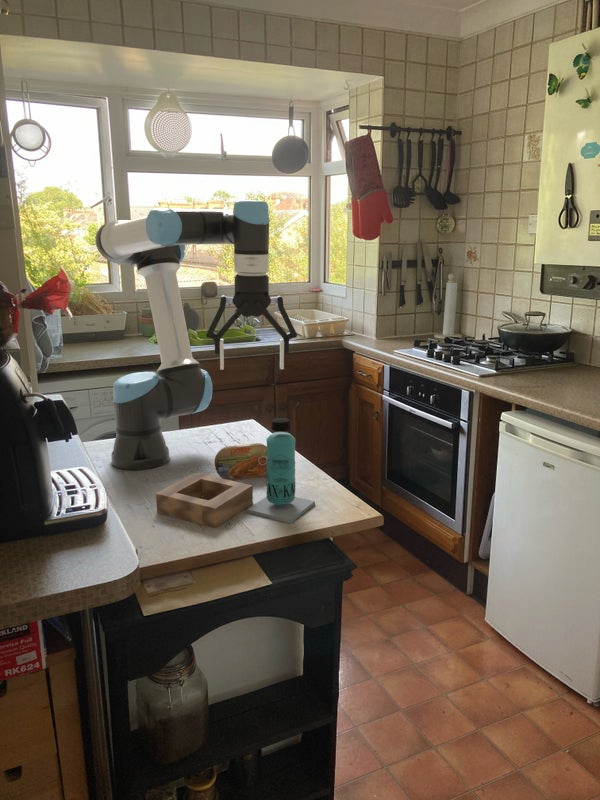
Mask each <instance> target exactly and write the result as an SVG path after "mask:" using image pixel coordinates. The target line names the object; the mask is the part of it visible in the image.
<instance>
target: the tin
mask: <svg viewBox="0 0 600 800" xmlns="http://www.w3.org/2000/svg"><path fill="white" fill-rule="evenodd" d="M266 464H267V445H266V444H263V443H258V442H256V443H246V444H240V445H238V444H237V445H227V446H225V447H223V448H221V449H220V450H219V451H218V452H217V453H216V455H215V457H214V469H215V471H216V474H218V476H219V478H222V479H226V480H231V481H236V480H243V479H244V480H245V479H251V478H253V479H254V478H261V477H264V476H267V473H266V472H267V465H266Z"/></svg>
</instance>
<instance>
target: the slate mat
mask: <svg viewBox="0 0 600 800" xmlns="http://www.w3.org/2000/svg"><path fill="white" fill-rule="evenodd" d="M315 505H316V500H311V499H308V498H307V499H306V498H302V497H298V496H295V498H294V500H293V501H292V502H291V503H288V504H282V505H279V504H273V503H270V502H269V501H268V500H267V495H266V496H265V497H264V498H262V499H260V500H259V501H258V502H256V503H253V504H252V505H251V506H249V507H248V508H246V510H247V514H252V515H255V516H258V517H264V518H266V519H271V520H276V521H280V522H283V523H288V524H292V523H293V522H295V521H296V520H297V519H299V517H301V516H302V515H303V514H305V513H306V512H307V511H308V510H310V509H311V508H312V507H314V506H315Z"/></svg>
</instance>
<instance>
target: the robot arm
mask: <svg viewBox="0 0 600 800" xmlns="http://www.w3.org/2000/svg"><path fill="white" fill-rule="evenodd" d="M269 215H270V211H269V204H268V202H267V201H265V200H261V199H260V200H255V199H252V200H250V199H248V200H247V199H237V200H235V201H234V204H233V209H226V208H225V209H224V208H216V209H215V208H209V209H208V208H170V207H161V208H153V209H151V210H150V211H149V212H148V214H147V215H145V216H142V217H138V218H134V219H130V220H129V219H119V220H118V219H117V220H112V221H109V222H106V223H104V224H102V225H101V226H100V227H99V228H98V230H97V231H96V233H95V239H94V240H95V246H96V249H97V250H98V252H99V254H100V255H101V256H102V258H104V259H105V260H107V261H109V262H111V263H113V264H117V265H124V266H125V265H129V266H132V265H135V266H136V269H137V273H138V274H139V275H140V276H141V277H143V278H144V280H145V281H144V282H145V285H146V290H147V291H146V292H147V296H148V300H149V301H148V302H149V307H150V310H151V316H152V321H153V326H154V331H155V336H156V341H157V346H158V350H159V356H160V362H161V364H160V366H159V367H158V368H157V369H156V370H157V371H156V372H157V373H156V372H154V371H142V372H141V371H139V372H138V371H137V372H132V373H129V374H126V375H123V376H121V377H119V378H118V379H116V380H115V382H114V383H113V387H112V389H113V390H112V391H113V393H112V394H113V396H112V401H113V408H114V418H115V419H114V420H115V431H116V432H115V433H116V434H115V435H116V436H115V439H114V442H113V443H114V444H113V449H112V452H111V465H113V466H114V467H115V468H118V469H122V470H126V471H127V470H128V471H131V470H132V471H136V470H137V471H138V470H139V471H140V470H148V469H152V468H153V469H154V468H157V467H161V466H163V465H164V464H166V463H168V461H170V450H169V448H168V446H167V445H166V444H167V443H166V440H165V436H164V434H163V433H162V421H161V420H165V419H170V418H175V417H181V416H186V415H193V414H195V413H199V412H203V411H205V410H206V409H207V408H208V407H209V405H210V403H211V401H212V396H213V382H212V378H211V376H210V374H209V372H208V371H206V370H205V369H202V368H201V365H200V362H199V361H197V360H196V359H195V358H194V356H193V353H192V348H191V343H190V337H189V332H188V329H187V328H188V327H187V323H186V318H185V313H184V312H185V311H184V307H183V306H184V305H183V302H182V298H181V292H180V287H179V286H180V285H179V282H178V277H177V272H178V271H179V270H180V268H181V264H180V263H181V262H182V261H183V259H184V258H185V255H186V254H185V253H186V252H185V250H186V245H233V249H234V251H233V252H234V253H233V254H234V255H233V261H234V263H233V264H234V272H235V273H236V274H235V276H234V296H226V295H224V294H222V295H221V296H220V302H219V307H218V308H217V311H216V312H215V315H214V317H213V319H212V321H211V324H210V326H209V327H208V330H207V331H206V335H205V336H206V338H208V339H212V340H213V341H214V353H215V355H219V367H220V368H219V369H220V370H225V369H224V367H225V365H224V364H225V358H224V357H225V356H224V355H225V354H224V352H225V351H224V347H225V346H224V338H222V337H223V336H224V335H225V334H226V333H227V331H228V330H229V329H231V327H232V325H234V323H235V322H236V321H237V320H238V319H239V318H240V317H241V316H243V317H247V318H249V317H254V318H255V317H257V318H258V317H260V316H262V315H263V317H265V319H266V320H267V321H268V322H269V323H270V324H271V326H272V327H273V328H274V329H275V331H276V332H277V333H278V334H279V336H281V338H280V339H279V370H284V369H285V360H284V359H285V355H289V353H290V349H289V348H290V340H292V339H294V338H297V336H298V333H297V332H296V329H295V327H294V326H293V323H292V321H291V319H290V317H289V315H288V313H287V311H286V309H285V307H284V298H283V297H282V295H280V294H278V295H277V296H272V297H271V296H270V288H269V287H270V285H269V284H270V277H269V274H267V273H269V272H270V271H269V270H270V255H269V252H270V251H269V249H270V222H271V221H270V217H269ZM231 303H233V305H234V306H235V308H236V309H235V310H234V311H233V313H232V314H231V315H230V316H229V318H228V319H227V320H226V321H225V322H224V324H223V325H222V326H221V327H220V329H218V331H217V332H215V330H216V328H217V326H218V324H219V322H220V320H221V318H222V316H223V314H224V312H225V311H226V310H225V309H226V307H229V306H230V304H231ZM271 304H273V305H274V307H277V308H278V310H279V312H280V315H281V317H282V319H283V320H284V322H285V325H286V326H287V329H288V331H289V332H287V331H286V330H285V329H284V328H283V327H282V326H281V324H280V323H279V322H278V321H277V320H276V319H275V317H274V316H273V315H272V314H271V312H270V311H269V310H268V307H269V306H270V305H271Z"/></svg>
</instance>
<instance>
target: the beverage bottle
mask: <svg viewBox="0 0 600 800" xmlns="http://www.w3.org/2000/svg"><path fill="white" fill-rule="evenodd" d="M291 427H292V425H291V421H290V419H289V418H287V417H277V418H273V419H272V420H271V428H270V429H271V430H272V431H274V432H272V433H271V434H269V435H268V436H267V438H266V446H267V464H266V465H267V472H266V473H267V474H266V483H265V486H266V491H265V494H266V496H267V500H268V501H269V502H270V503H273V504H279V505H282V504H288V503H291V502H292V501H293V500H294V498H295V497H296V438H295V437H294V436H293V435H292V434H291V433H289V432H288V431H290V430H291Z"/></svg>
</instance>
